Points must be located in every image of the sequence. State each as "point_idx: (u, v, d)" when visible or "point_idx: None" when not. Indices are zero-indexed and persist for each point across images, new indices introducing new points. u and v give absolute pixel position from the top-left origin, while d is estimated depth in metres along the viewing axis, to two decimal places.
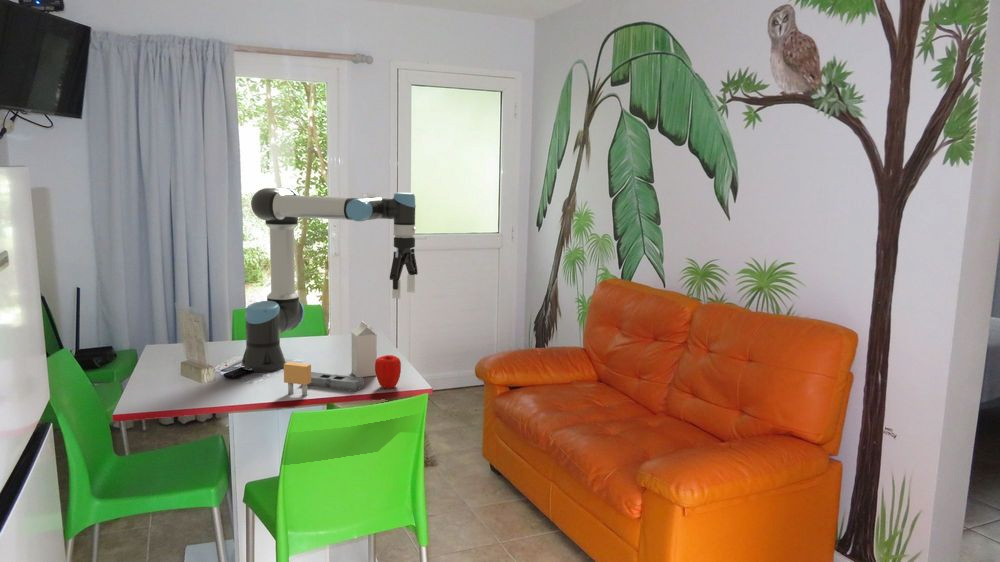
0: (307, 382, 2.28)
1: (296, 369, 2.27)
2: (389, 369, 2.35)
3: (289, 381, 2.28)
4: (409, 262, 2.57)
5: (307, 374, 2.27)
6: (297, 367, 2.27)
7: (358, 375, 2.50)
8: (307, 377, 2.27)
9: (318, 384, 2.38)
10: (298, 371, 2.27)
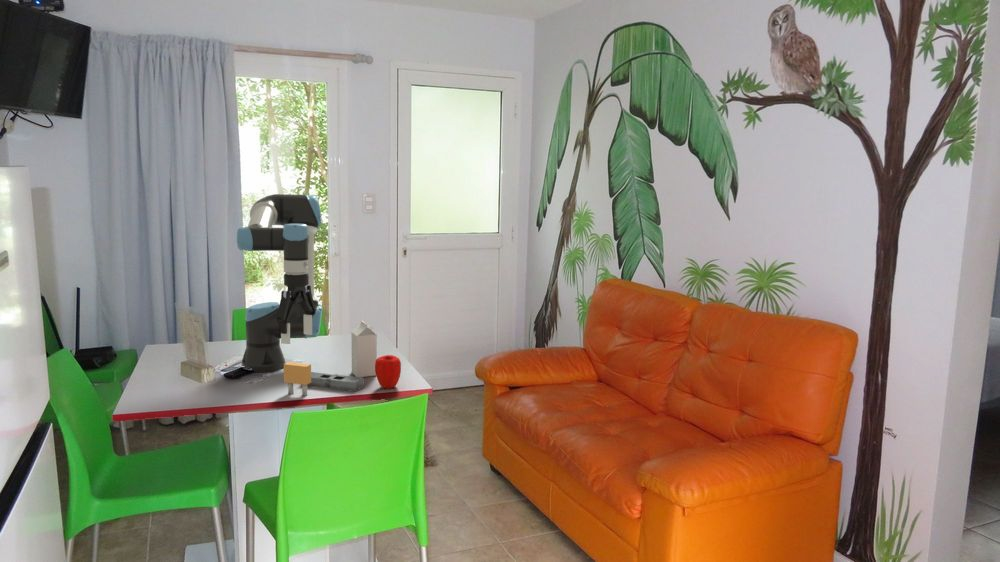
0: (307, 382, 2.28)
1: (296, 369, 2.27)
2: (389, 369, 2.35)
3: (289, 381, 2.28)
4: (304, 301, 2.28)
5: (307, 374, 2.27)
6: (297, 367, 2.27)
7: (358, 375, 2.50)
8: (307, 377, 2.27)
9: (318, 384, 2.38)
10: (298, 371, 2.27)
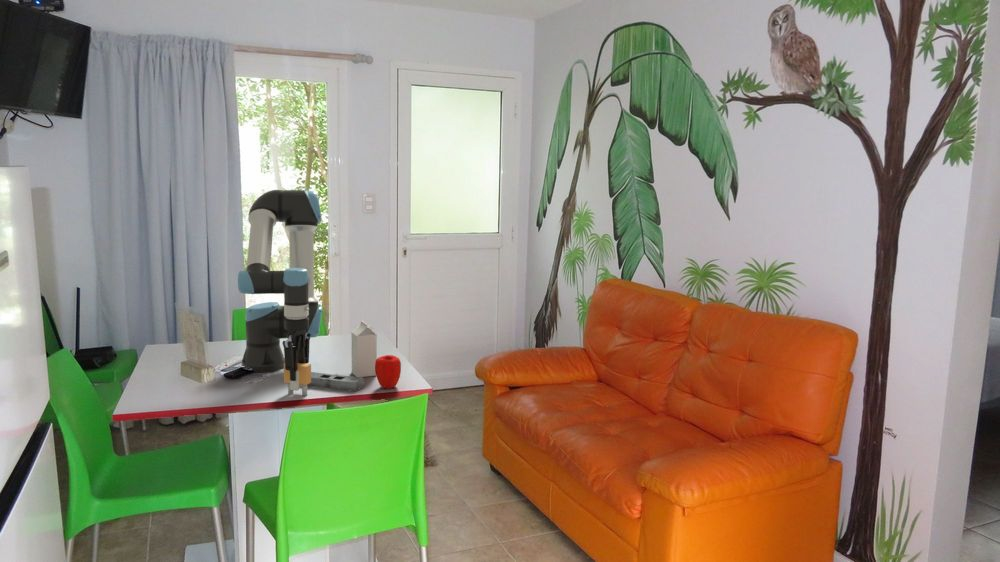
0: (307, 382, 2.28)
1: None
2: (389, 369, 2.35)
3: (289, 381, 2.28)
4: (301, 347, 2.29)
5: (307, 374, 2.27)
6: (297, 367, 2.27)
7: (358, 375, 2.50)
8: (307, 377, 2.27)
9: (318, 384, 2.38)
10: None
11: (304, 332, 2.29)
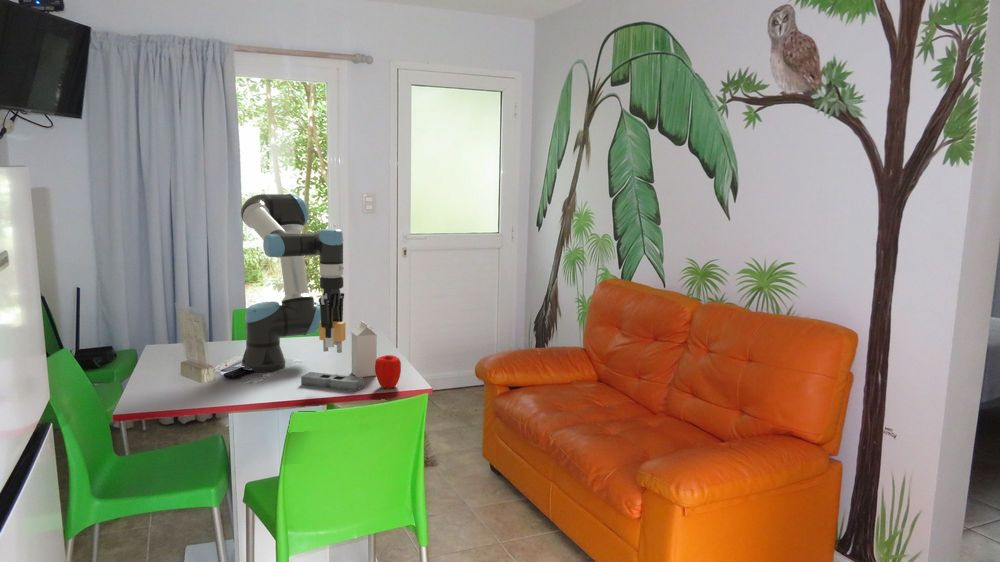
0: (342, 339, 2.36)
1: (332, 326, 2.35)
2: (389, 369, 2.35)
3: (324, 338, 2.36)
4: (335, 306, 2.37)
5: (342, 331, 2.35)
6: (332, 324, 2.35)
7: (358, 375, 2.50)
8: (342, 334, 2.35)
9: (318, 384, 2.38)
10: None
11: (338, 291, 2.37)
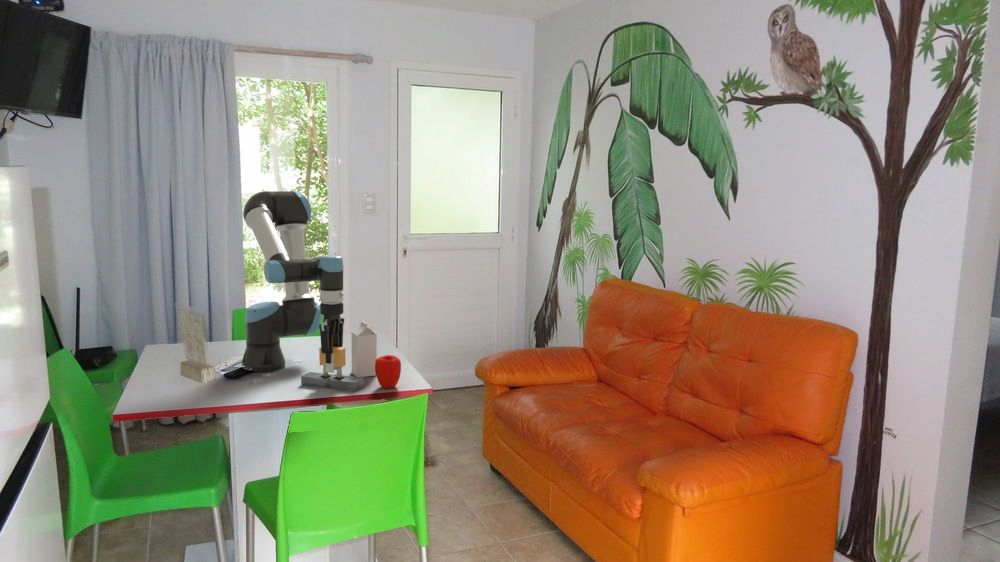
0: (342, 365, 2.37)
1: (332, 352, 2.36)
2: (389, 369, 2.35)
3: (324, 364, 2.38)
4: (335, 331, 2.38)
5: (342, 357, 2.36)
6: None
7: (358, 375, 2.50)
8: (342, 360, 2.37)
9: (318, 384, 2.38)
10: None
11: (338, 317, 2.39)
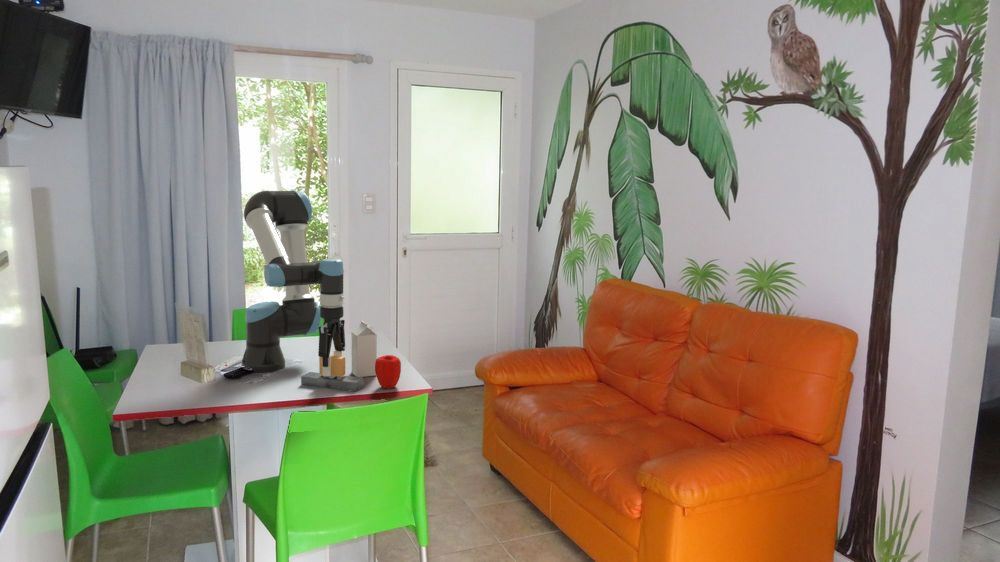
0: (342, 374, 2.38)
1: (332, 361, 2.37)
2: (389, 369, 2.35)
3: None
4: (336, 334, 2.39)
5: (342, 366, 2.37)
6: (332, 359, 2.37)
7: (358, 375, 2.50)
8: (342, 369, 2.37)
9: (318, 384, 2.38)
10: (333, 363, 2.37)
11: (338, 320, 2.39)
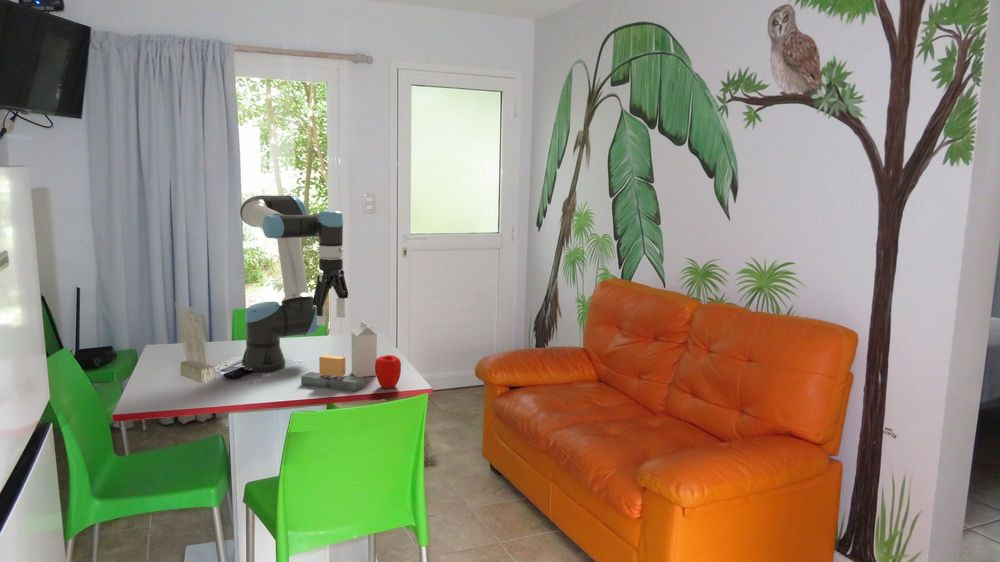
0: (342, 374, 2.38)
1: (332, 361, 2.37)
2: (389, 369, 2.35)
3: (324, 373, 2.38)
4: (337, 285, 2.38)
5: (342, 366, 2.37)
6: (332, 359, 2.37)
7: (358, 375, 2.50)
8: (342, 369, 2.37)
9: (318, 384, 2.38)
10: (333, 363, 2.37)
11: (337, 274, 2.37)
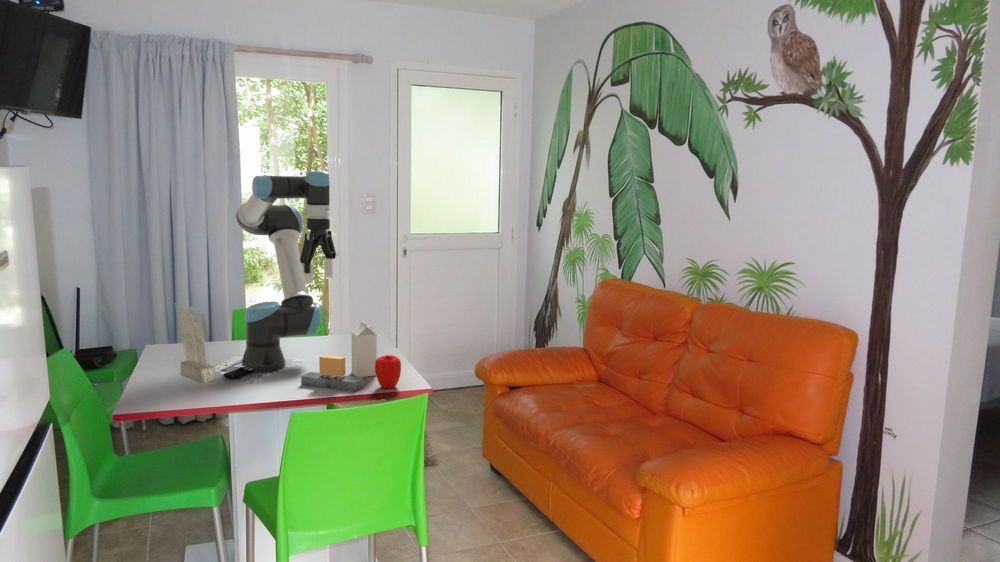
0: (342, 374, 2.38)
1: (332, 361, 2.37)
2: (389, 369, 2.35)
3: (324, 373, 2.38)
4: (325, 245, 2.43)
5: (342, 366, 2.37)
6: (332, 359, 2.37)
7: (358, 375, 2.50)
8: (342, 369, 2.37)
9: (318, 384, 2.38)
10: (333, 363, 2.37)
11: (325, 234, 2.42)
